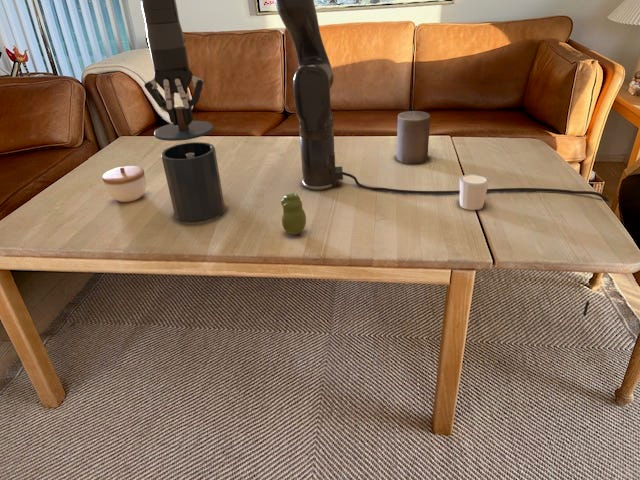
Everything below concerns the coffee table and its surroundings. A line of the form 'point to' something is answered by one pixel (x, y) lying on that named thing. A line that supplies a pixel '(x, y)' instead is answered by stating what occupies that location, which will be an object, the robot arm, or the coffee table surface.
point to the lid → (183, 128)
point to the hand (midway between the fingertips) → (182, 123)
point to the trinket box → (125, 183)
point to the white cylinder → (473, 191)
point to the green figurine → (293, 214)
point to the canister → (193, 181)
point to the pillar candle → (413, 137)
